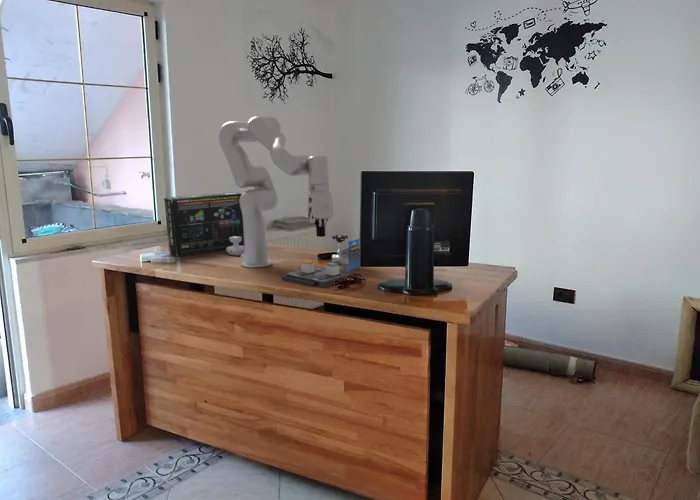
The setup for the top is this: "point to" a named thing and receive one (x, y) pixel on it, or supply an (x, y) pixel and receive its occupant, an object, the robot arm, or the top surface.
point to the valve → (338, 257)
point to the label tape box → (350, 256)
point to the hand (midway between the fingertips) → (320, 236)
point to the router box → (203, 222)
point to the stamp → (235, 246)
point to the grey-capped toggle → (332, 269)
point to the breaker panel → (317, 277)
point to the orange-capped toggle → (307, 266)
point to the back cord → (339, 272)
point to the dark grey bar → (298, 281)
